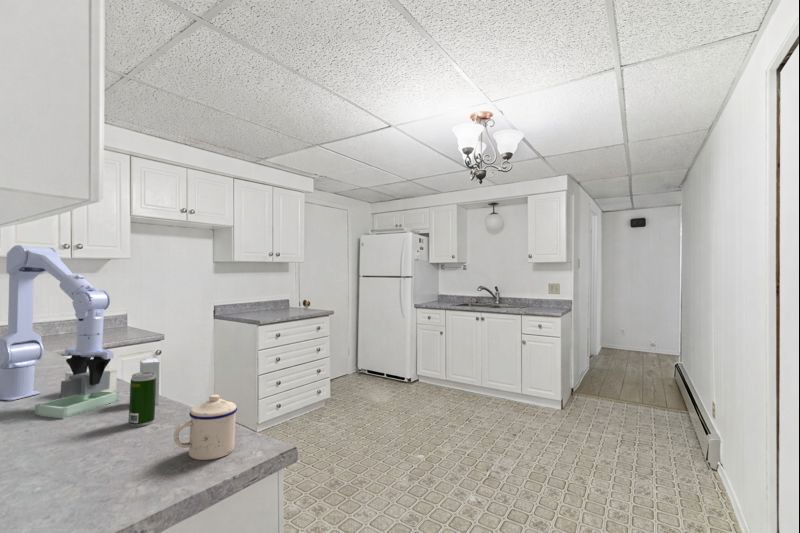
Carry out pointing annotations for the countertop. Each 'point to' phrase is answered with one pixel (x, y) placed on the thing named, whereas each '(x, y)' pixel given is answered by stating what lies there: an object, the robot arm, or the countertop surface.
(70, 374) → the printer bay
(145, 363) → the skincare box
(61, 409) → the tray
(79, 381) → the grey bottle-shaped block
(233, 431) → the teacup with lid
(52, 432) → the countertop surface
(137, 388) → the beer can
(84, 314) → the robot arm
